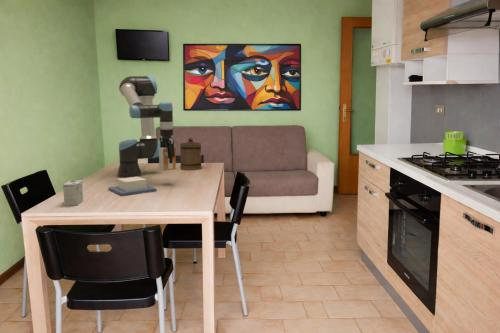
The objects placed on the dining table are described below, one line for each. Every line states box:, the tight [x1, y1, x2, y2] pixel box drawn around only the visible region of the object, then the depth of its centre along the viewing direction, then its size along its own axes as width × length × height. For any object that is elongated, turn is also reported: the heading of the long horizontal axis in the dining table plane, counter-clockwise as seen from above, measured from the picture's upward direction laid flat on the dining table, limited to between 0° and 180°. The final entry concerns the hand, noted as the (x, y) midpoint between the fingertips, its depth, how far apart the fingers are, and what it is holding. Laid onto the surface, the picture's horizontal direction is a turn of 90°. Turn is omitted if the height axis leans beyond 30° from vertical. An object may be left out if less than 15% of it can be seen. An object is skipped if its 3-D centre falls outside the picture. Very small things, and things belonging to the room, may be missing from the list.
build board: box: [107, 176, 157, 197], centre depth 266 cm, size 20×20×6 cm
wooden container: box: [179, 137, 202, 171], centre depth 339 cm, size 15×15×22 cm
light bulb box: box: [62, 179, 84, 207], centre depth 237 cm, size 11×7×11 cm, turn 5°
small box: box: [158, 147, 177, 171], centre depth 281 cm, size 8×6×13 cm
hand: (167, 167), depth 282 cm, fingers closed on small box, 6 cm apart
